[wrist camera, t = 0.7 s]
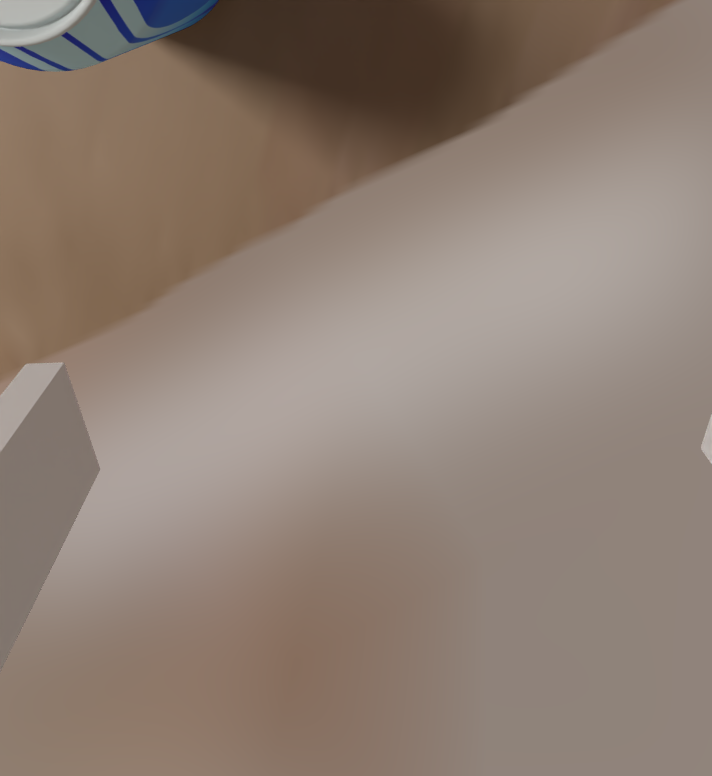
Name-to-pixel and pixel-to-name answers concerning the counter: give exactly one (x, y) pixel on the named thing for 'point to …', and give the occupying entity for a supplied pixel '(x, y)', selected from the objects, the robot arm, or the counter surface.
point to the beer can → (87, 29)
